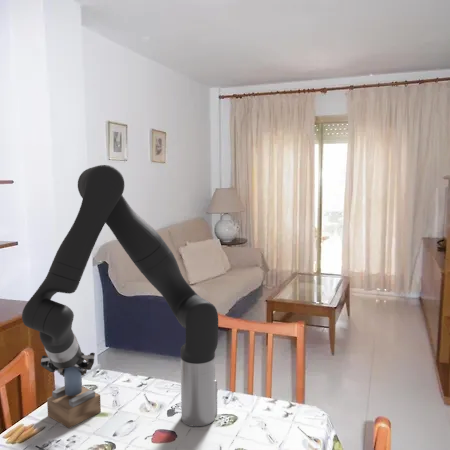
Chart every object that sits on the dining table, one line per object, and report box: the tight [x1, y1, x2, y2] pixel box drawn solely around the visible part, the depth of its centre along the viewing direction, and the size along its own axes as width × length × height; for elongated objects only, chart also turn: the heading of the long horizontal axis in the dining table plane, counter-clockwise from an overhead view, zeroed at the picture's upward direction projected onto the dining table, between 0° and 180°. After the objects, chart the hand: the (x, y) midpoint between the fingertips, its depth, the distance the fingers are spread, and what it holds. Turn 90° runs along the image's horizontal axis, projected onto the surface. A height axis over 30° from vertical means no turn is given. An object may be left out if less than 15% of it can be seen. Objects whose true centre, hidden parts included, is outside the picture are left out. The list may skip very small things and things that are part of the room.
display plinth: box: [46, 385, 102, 429], centre depth 119 cm, size 10×10×6 cm
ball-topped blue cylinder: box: [63, 367, 83, 396], centre depth 118 cm, size 5×5×10 cm
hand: (74, 372), depth 120 cm, fingers closed on ball-topped blue cylinder, 4 cm apart
